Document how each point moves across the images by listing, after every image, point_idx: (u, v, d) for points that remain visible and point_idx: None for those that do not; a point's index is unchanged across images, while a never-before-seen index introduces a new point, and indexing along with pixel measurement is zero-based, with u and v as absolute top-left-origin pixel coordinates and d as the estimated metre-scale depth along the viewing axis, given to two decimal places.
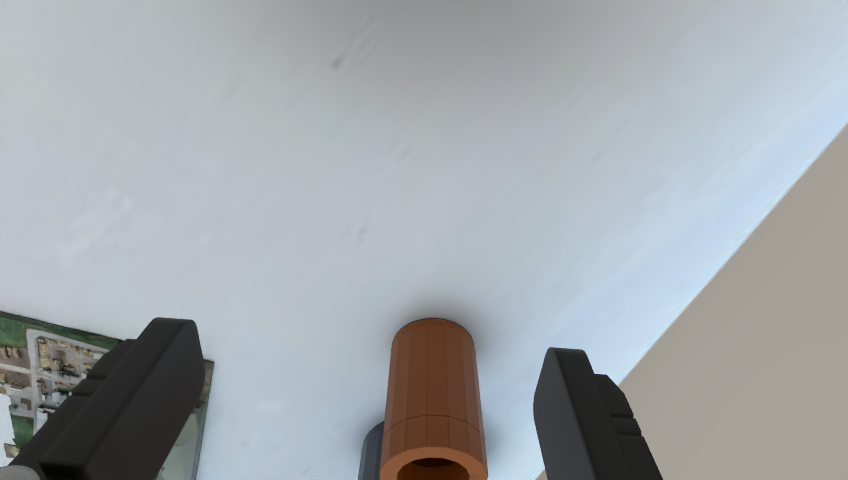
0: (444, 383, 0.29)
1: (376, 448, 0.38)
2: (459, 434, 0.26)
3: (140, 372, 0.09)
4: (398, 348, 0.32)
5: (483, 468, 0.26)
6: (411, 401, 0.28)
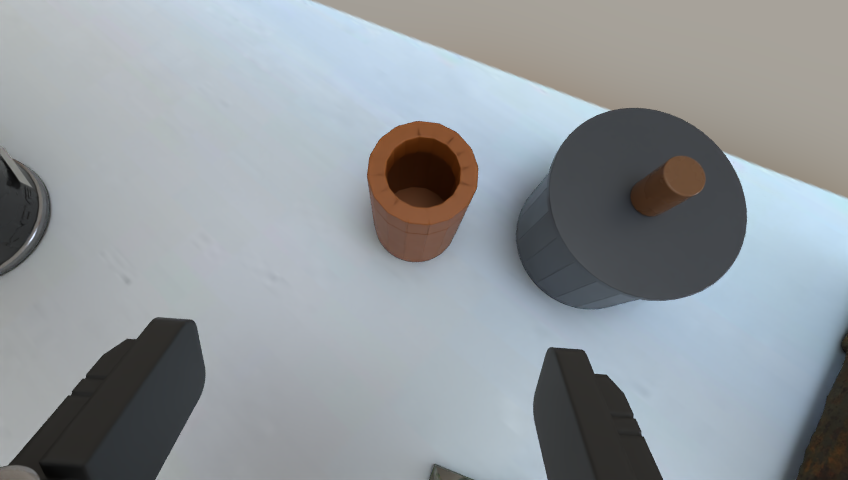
0: None
1: (545, 280, 0.33)
2: None
3: (140, 372, 0.09)
4: (388, 246, 0.33)
5: (404, 125, 0.27)
6: (374, 209, 0.29)
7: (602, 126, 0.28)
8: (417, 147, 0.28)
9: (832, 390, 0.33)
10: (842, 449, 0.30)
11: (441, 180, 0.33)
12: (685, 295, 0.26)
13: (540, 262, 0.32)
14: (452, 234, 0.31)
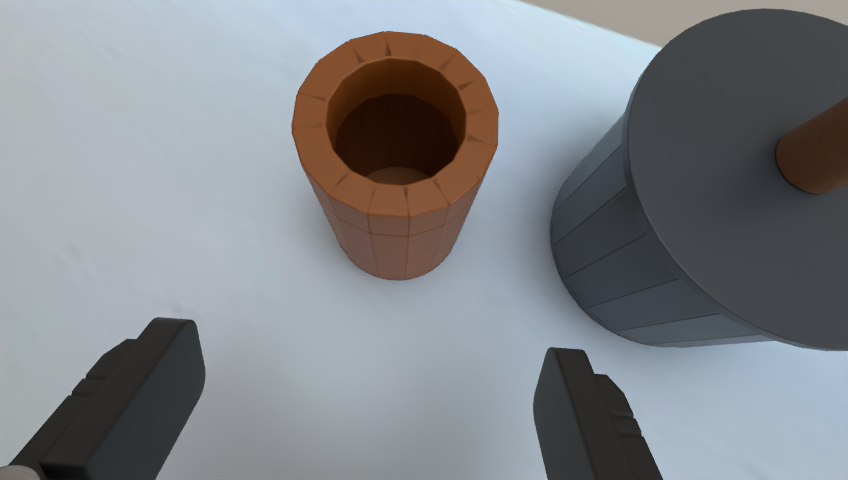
0: None
1: (604, 306, 0.21)
2: None
3: (140, 372, 0.09)
4: (353, 258, 0.21)
5: (362, 38, 0.15)
6: None
7: (713, 39, 0.16)
8: (388, 84, 0.16)
9: None
10: None
11: (434, 151, 0.21)
12: None
13: (597, 278, 0.20)
14: (454, 236, 0.19)
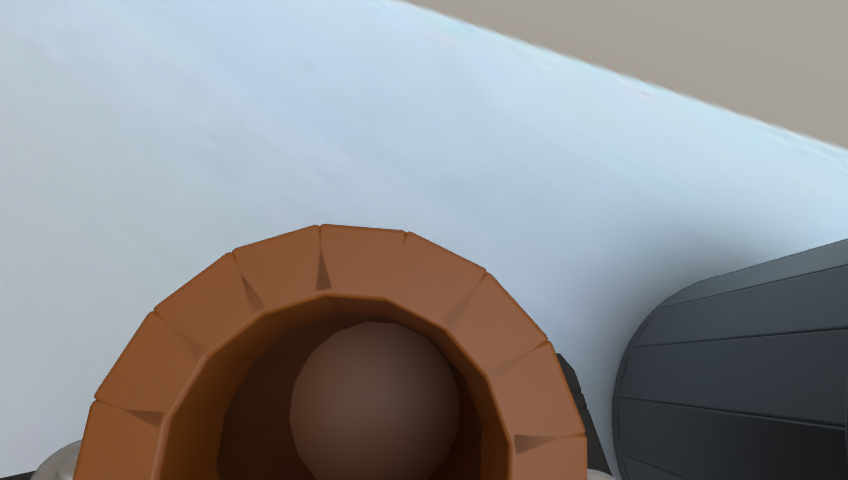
0: None
1: None
2: None
3: None
4: None
5: (263, 246, 0.06)
6: None
7: None
8: (335, 309, 0.07)
9: None
10: None
11: None
12: None
13: None
14: None
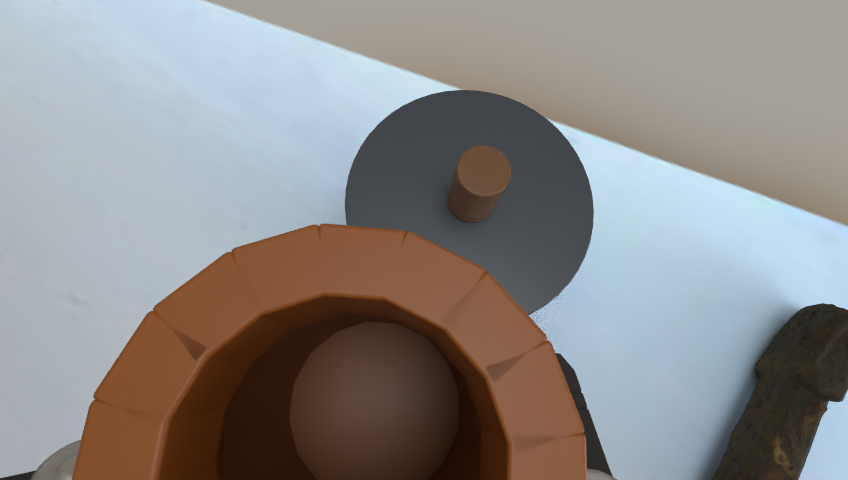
0: None
1: None
2: None
3: None
4: None
5: (262, 246, 0.06)
6: None
7: (420, 113, 0.23)
8: (334, 308, 0.07)
9: (738, 425, 0.28)
10: None
11: None
12: None
13: None
14: None
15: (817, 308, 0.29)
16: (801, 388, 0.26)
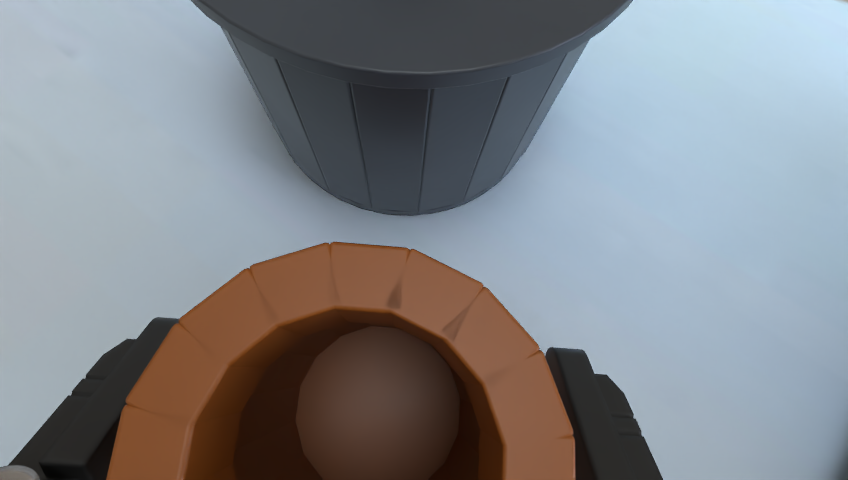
0: None
1: (288, 144, 0.16)
2: None
3: (140, 372, 0.09)
4: None
5: (278, 262, 0.07)
6: None
7: None
8: (343, 318, 0.08)
9: None
10: None
11: None
12: (493, 64, 0.08)
13: (259, 97, 0.15)
14: None
15: None
16: None
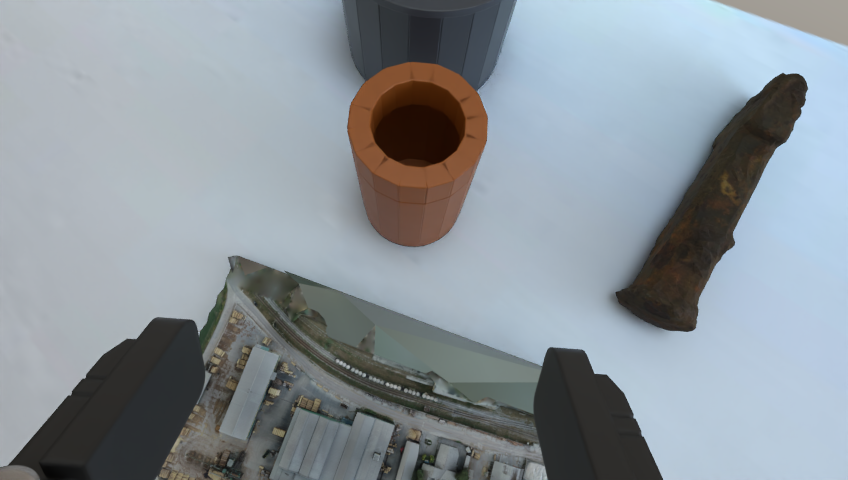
0: None
1: (365, 62, 0.30)
2: None
3: (140, 372, 0.09)
4: (380, 227, 0.28)
5: (394, 67, 0.21)
6: (359, 176, 0.23)
7: None
8: (410, 97, 0.22)
9: (692, 183, 0.30)
10: (686, 223, 0.27)
11: (442, 146, 0.27)
12: (465, 7, 0.23)
13: (353, 36, 0.29)
14: (456, 208, 0.25)
15: None
16: (749, 134, 0.28)
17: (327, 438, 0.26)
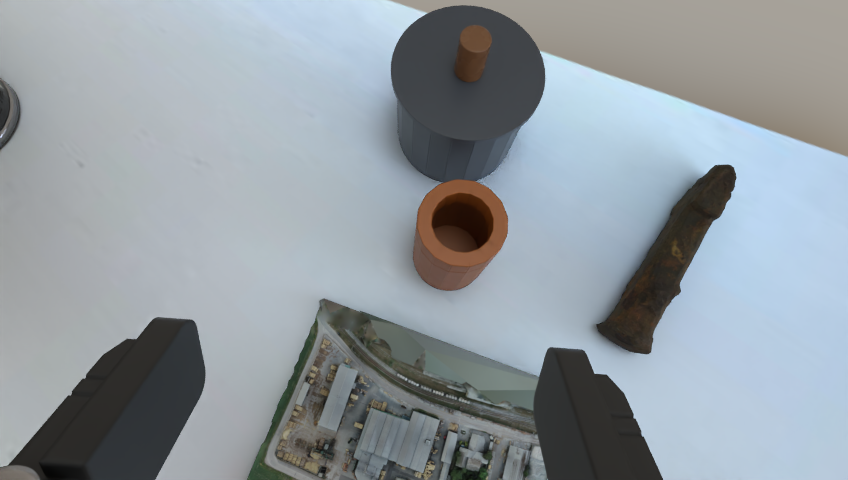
0: None
1: (413, 155, 0.41)
2: None
3: (140, 372, 0.09)
4: (427, 278, 0.39)
5: (445, 183, 0.32)
6: (419, 251, 0.34)
7: (436, 18, 0.36)
8: (455, 199, 0.33)
9: (654, 243, 0.41)
10: (646, 277, 0.38)
11: (471, 221, 0.38)
12: (491, 137, 0.34)
13: (405, 138, 0.40)
14: (483, 269, 0.36)
15: (712, 168, 0.42)
16: (693, 211, 0.39)
17: (393, 429, 0.36)
